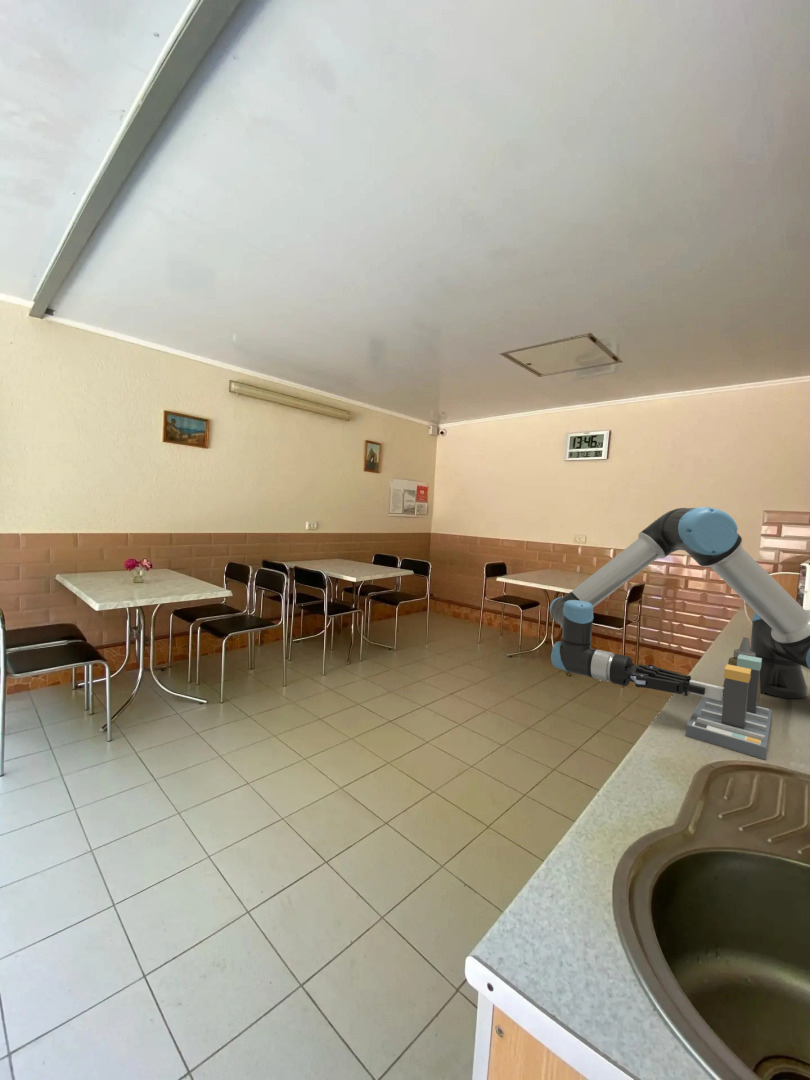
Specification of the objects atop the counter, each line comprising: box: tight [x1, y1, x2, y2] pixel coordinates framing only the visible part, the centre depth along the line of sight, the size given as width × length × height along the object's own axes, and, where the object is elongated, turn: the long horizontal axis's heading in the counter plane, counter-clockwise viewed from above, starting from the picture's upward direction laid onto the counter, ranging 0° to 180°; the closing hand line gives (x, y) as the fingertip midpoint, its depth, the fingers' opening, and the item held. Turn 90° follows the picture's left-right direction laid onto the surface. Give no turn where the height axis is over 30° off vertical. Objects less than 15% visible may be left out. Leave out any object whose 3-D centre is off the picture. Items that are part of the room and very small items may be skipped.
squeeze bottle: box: [722, 637, 762, 704], centre depth 119 cm, size 8×8×18 cm
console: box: [685, 696, 773, 761], centre depth 107 cm, size 25×14×4 cm, turn 139°
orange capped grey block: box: [721, 663, 751, 730], centre depth 101 cm, size 4×4×13 cm
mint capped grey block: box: [737, 654, 762, 714], centre depth 109 cm, size 4×4×13 cm
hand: (723, 694), depth 102 cm, fingers closed
